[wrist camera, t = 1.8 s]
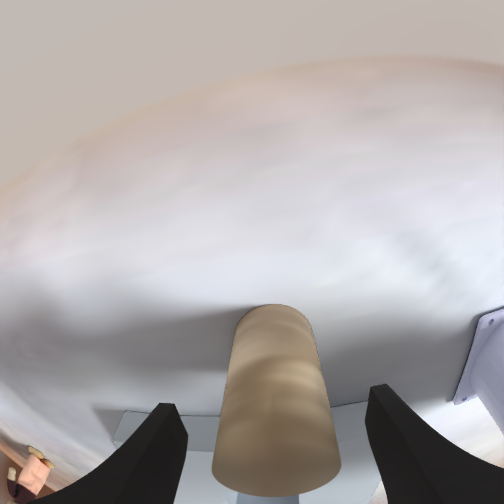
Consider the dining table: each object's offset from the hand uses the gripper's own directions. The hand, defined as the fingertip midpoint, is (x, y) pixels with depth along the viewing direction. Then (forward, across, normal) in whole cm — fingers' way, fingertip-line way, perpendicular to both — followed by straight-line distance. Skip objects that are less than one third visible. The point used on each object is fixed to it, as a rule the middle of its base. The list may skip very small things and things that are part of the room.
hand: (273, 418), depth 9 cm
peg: (+6, 0, 0) cm, 6 cm away
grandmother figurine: (+6, +32, +21) cm, 39 cm away
